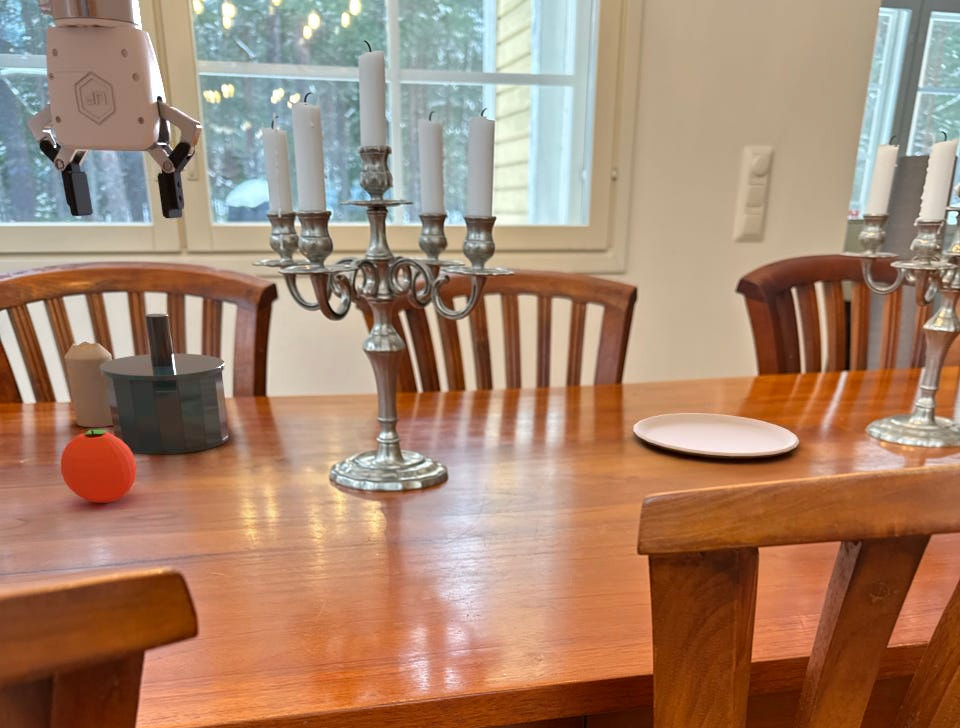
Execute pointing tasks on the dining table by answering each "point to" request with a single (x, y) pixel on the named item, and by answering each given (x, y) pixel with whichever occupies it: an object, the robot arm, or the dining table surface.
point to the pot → (169, 414)
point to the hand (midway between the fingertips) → (127, 216)
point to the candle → (88, 384)
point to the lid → (161, 359)
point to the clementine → (98, 466)
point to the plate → (715, 435)
